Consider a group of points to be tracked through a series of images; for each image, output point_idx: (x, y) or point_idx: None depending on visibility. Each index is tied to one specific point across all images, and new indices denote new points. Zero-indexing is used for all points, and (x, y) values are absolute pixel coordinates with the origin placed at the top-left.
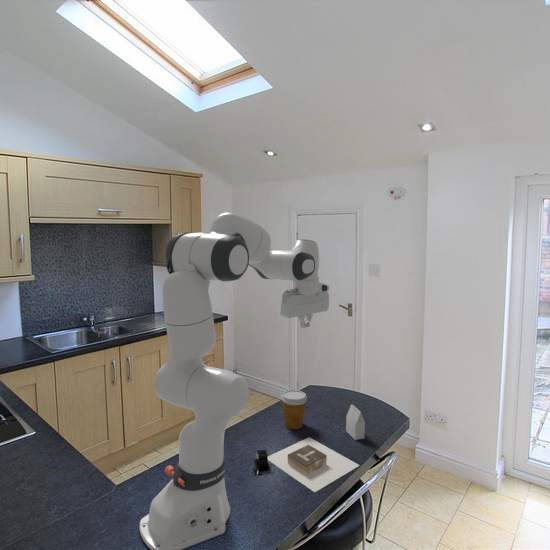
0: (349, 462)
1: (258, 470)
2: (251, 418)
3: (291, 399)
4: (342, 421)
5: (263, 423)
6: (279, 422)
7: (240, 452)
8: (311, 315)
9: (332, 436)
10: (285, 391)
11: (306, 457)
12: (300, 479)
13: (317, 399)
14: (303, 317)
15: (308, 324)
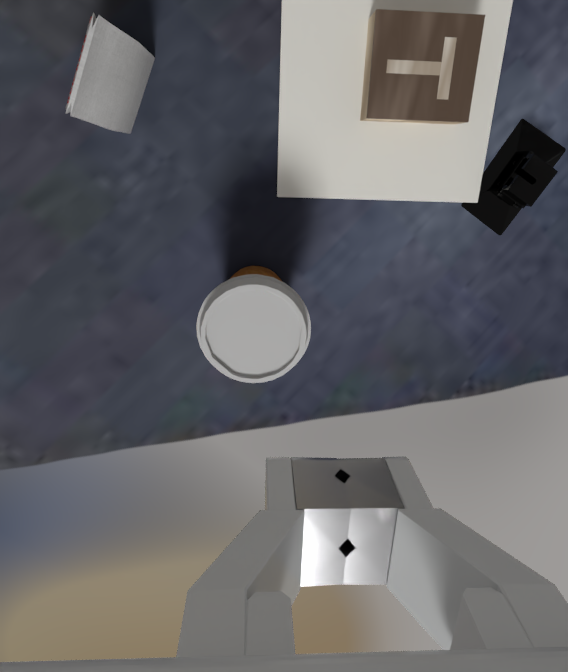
0: None
1: (543, 160)
2: (329, 415)
3: (299, 308)
4: (85, 195)
5: (323, 368)
6: None
7: (499, 279)
8: (223, 623)
9: (203, 143)
10: (261, 381)
11: (439, 56)
12: (498, 21)
13: (40, 381)
14: (520, 605)
15: (301, 478)
